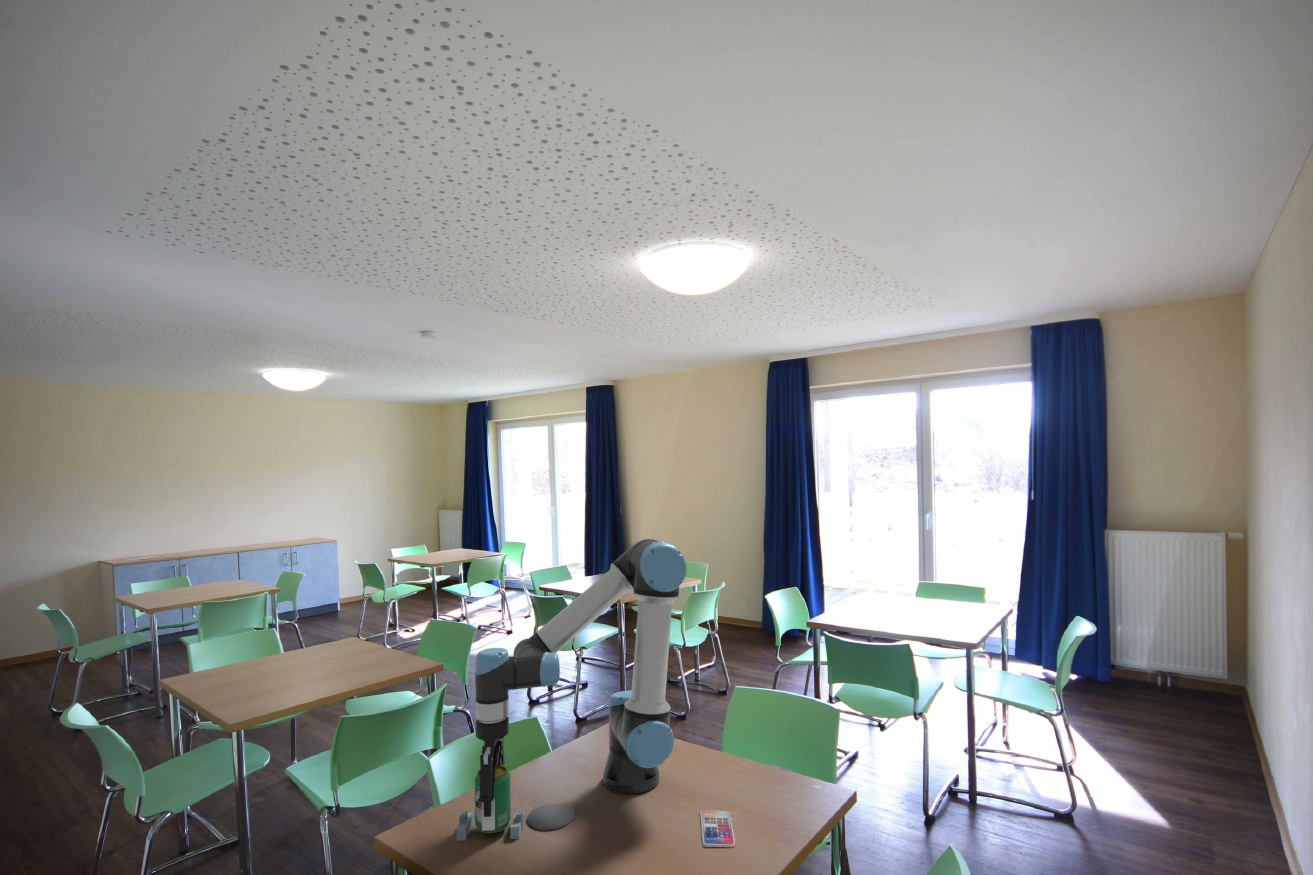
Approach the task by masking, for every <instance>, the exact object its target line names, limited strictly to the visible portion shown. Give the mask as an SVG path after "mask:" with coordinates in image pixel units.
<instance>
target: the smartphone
mask: <svg viewBox="0 0 1313 875" xmlns="http://www.w3.org/2000/svg"><path fill="white" fill-rule="evenodd" d="M699 814H700V815H699V817H700V818H699V819H700V830H701V835H700V836H701V840H702V842H701V843H702V846H703V847H704V846H705V847H704V848H706V847H719V846H722V847H725V846H734V844H735V843H736V837H735V838H734V836H735V832H734V828H732V826H733V822H731V821H732V816H731V817H730V815H731V812H730V811H728V810H708V809H707V810H705V809H704V810H703V809H702V810H701V811H700V812H699Z"/></svg>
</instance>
